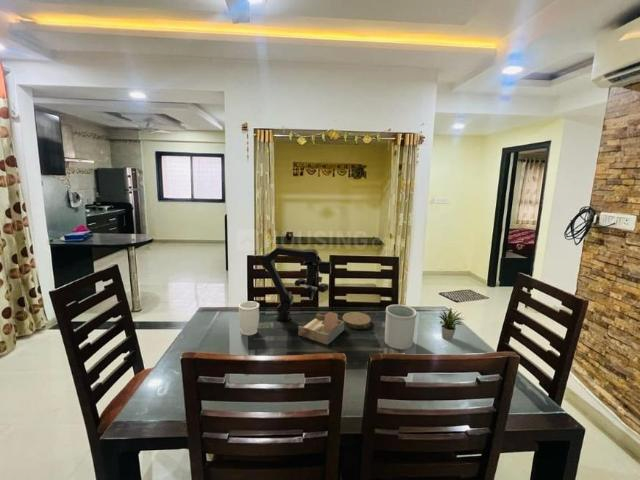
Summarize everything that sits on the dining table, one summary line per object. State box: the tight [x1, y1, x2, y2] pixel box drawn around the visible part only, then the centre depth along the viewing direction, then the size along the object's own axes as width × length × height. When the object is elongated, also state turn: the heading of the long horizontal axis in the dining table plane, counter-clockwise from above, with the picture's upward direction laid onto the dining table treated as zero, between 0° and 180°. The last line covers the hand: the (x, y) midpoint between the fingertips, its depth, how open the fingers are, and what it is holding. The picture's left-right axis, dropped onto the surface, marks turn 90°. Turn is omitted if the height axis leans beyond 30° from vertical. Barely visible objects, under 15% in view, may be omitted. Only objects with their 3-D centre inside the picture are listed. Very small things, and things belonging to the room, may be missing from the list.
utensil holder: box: [384, 304, 418, 350], centre depth 169 cm, size 15×15×18 cm
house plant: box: [438, 307, 465, 341], centre depth 175 cm, size 14×14×16 cm
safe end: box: [315, 319, 345, 346], centre depth 175 cm, size 7×18×5 cm, turn 150°
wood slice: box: [341, 311, 372, 330], centre depth 191 cm, size 16×16×3 cm
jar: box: [237, 300, 260, 336], centre depth 174 cm, size 11×10×15 cm
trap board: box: [297, 313, 325, 342], centre depth 179 cm, size 10×18×5 cm, turn 150°
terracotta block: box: [324, 311, 339, 333], centre depth 174 cm, size 5×5×9 cm
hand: (310, 299), depth 187 cm, fingers closed
